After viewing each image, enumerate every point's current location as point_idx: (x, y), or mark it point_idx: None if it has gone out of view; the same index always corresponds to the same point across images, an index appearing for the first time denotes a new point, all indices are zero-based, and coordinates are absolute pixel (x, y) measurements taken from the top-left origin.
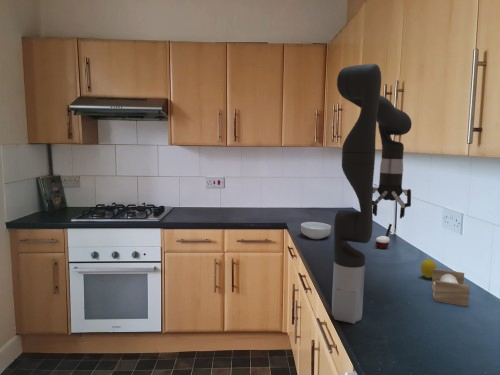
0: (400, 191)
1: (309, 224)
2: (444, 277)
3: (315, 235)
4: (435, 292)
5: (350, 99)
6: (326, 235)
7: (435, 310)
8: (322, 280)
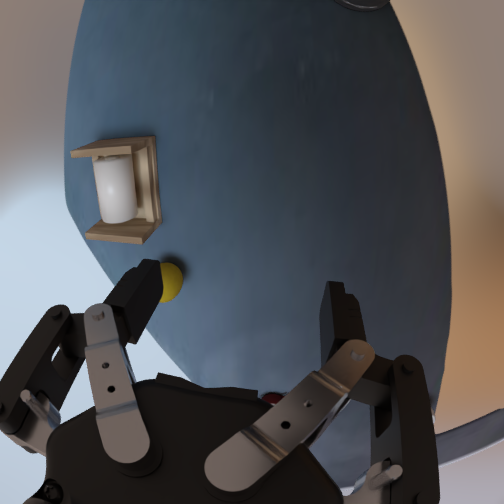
0: (60, 440)
1: None
2: (119, 204)
3: None
4: (144, 139)
5: None
6: None
7: (154, 83)
8: (432, 170)
